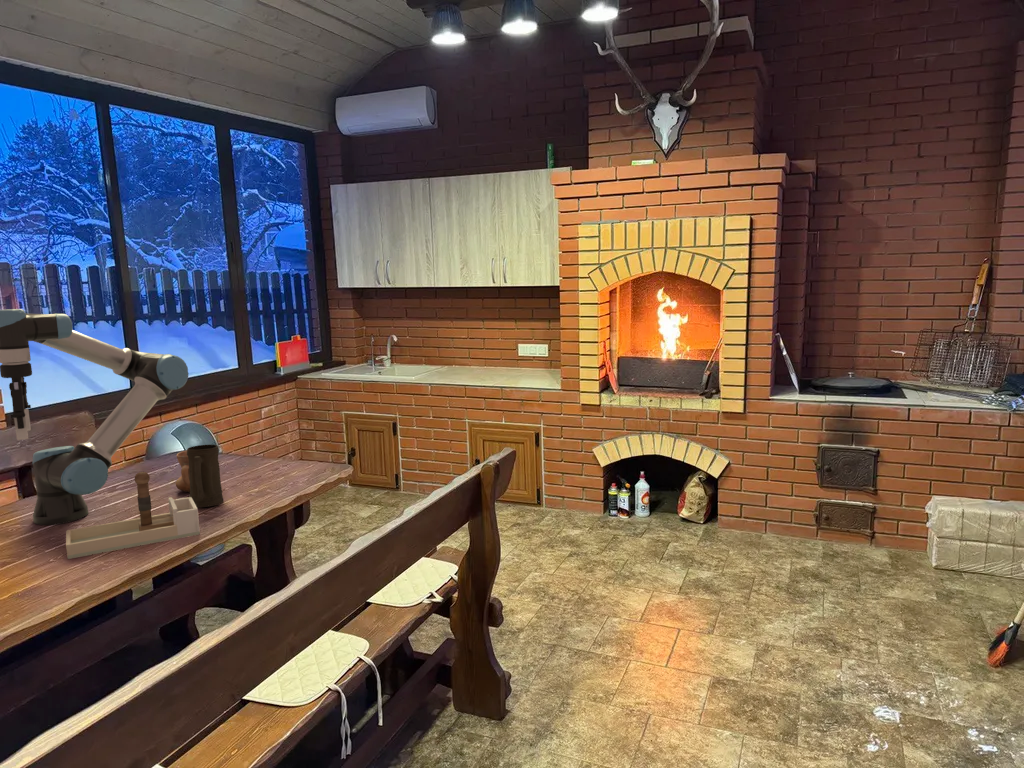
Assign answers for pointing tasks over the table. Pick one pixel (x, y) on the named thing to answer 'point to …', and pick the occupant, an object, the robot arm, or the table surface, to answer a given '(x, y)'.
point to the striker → (148, 505)
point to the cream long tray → (133, 531)
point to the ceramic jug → (183, 472)
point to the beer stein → (204, 475)
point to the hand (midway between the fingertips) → (24, 435)
